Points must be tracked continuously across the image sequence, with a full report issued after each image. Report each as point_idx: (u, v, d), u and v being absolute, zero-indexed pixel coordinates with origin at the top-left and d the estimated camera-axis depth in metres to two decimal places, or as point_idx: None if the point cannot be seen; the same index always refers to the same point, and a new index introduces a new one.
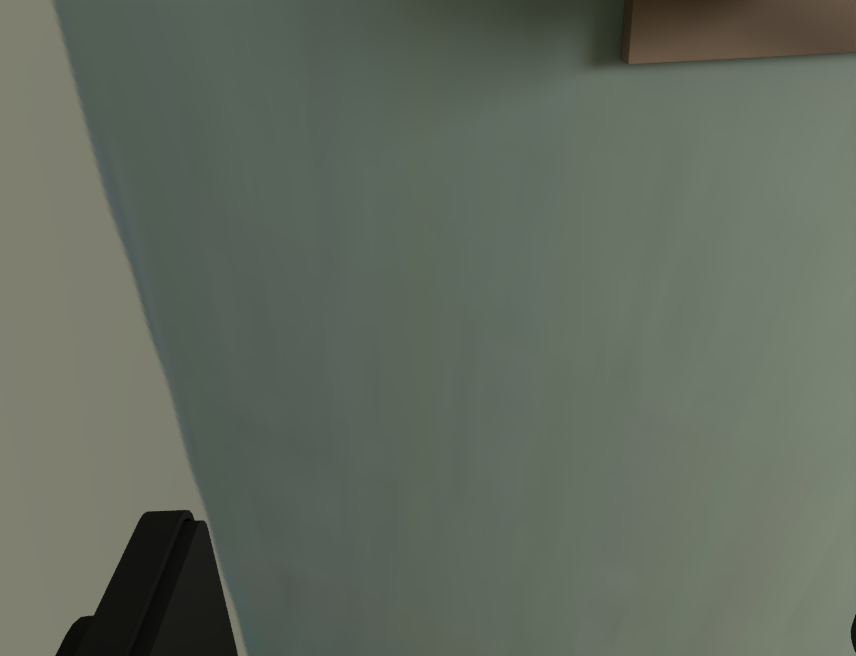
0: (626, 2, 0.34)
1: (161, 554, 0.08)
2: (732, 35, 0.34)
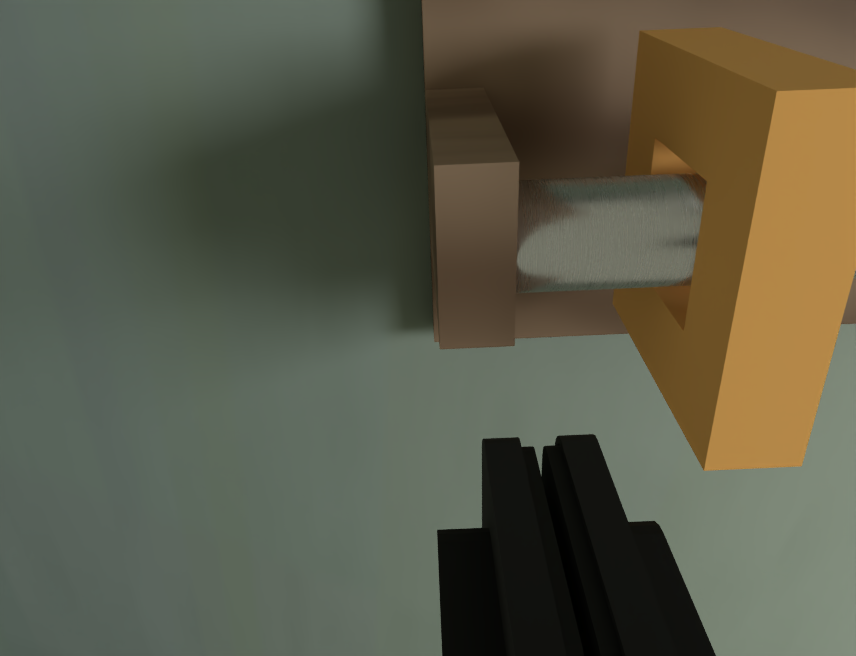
0: (431, 271, 0.29)
1: (521, 471, 0.10)
2: (553, 314, 0.29)
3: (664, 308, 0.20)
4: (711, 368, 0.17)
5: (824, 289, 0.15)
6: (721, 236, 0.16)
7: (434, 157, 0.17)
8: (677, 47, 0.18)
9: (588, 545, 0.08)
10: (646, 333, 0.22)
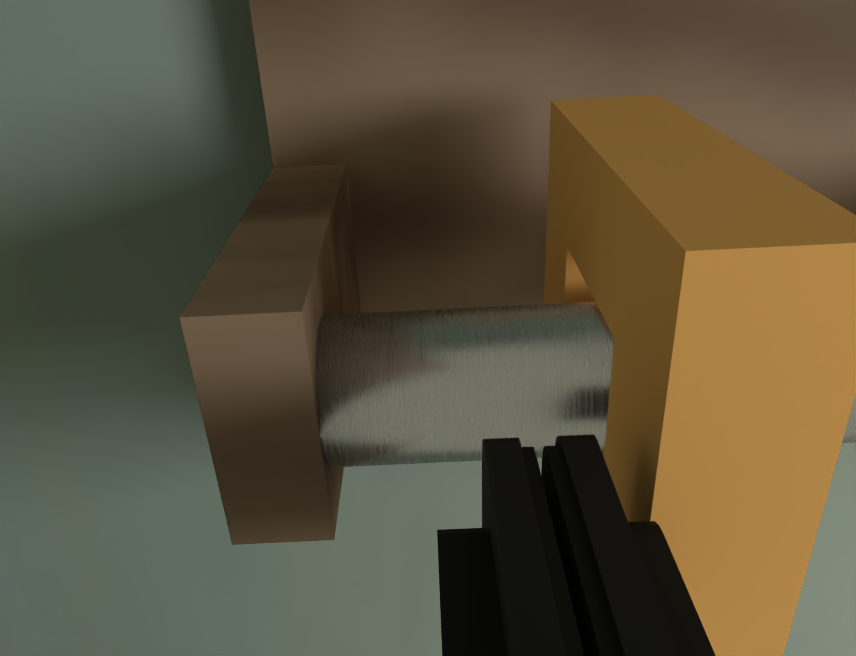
0: None
1: (521, 471, 0.10)
2: None
3: None
4: None
5: (781, 521, 0.10)
6: (630, 428, 0.11)
7: (192, 299, 0.12)
8: (582, 135, 0.13)
9: (588, 545, 0.08)
10: None
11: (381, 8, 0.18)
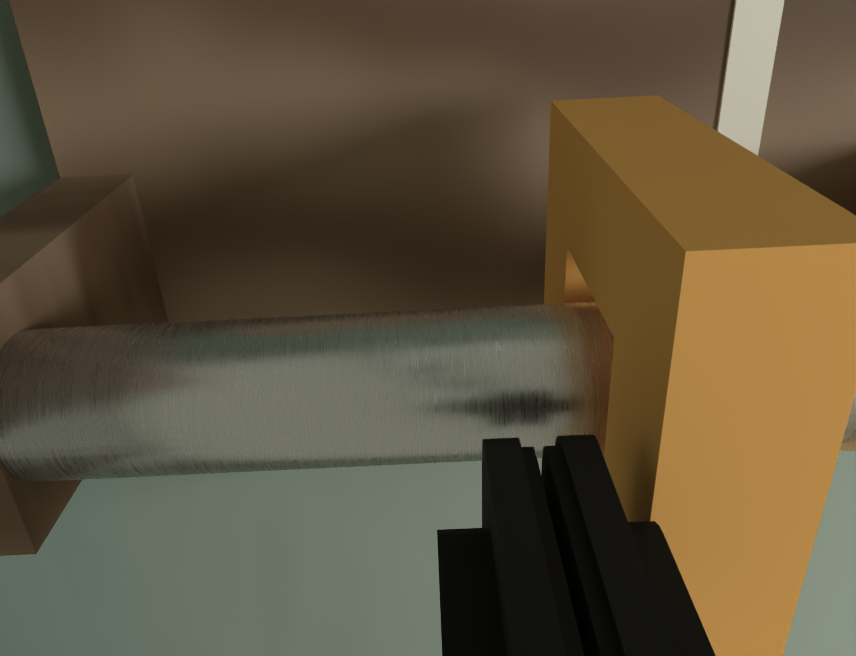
0: None
1: (521, 471, 0.10)
2: None
3: None
4: None
5: (780, 521, 0.10)
6: (630, 428, 0.11)
7: None
8: (582, 136, 0.13)
9: (588, 545, 0.08)
10: None
11: (146, 20, 0.18)
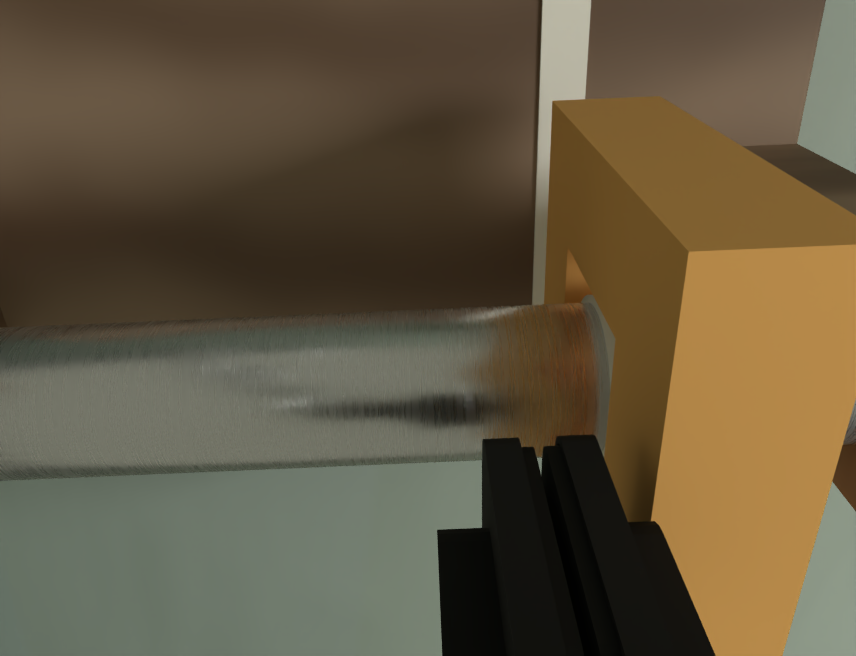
0: None
1: (520, 471, 0.10)
2: None
3: None
4: None
5: (781, 522, 0.10)
6: (631, 428, 0.11)
7: None
8: (584, 136, 0.13)
9: (588, 545, 0.08)
10: None
11: None
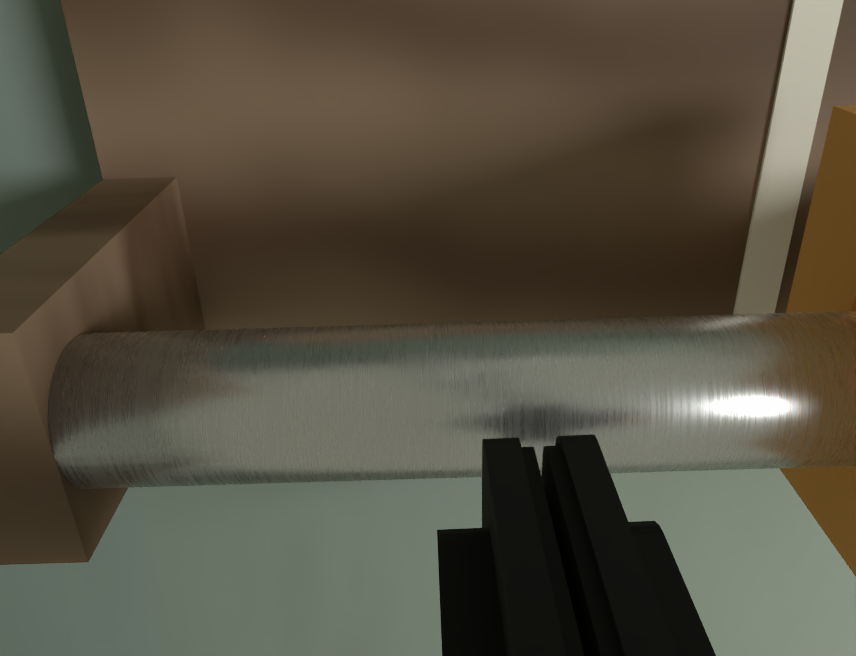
0: None
1: (520, 471, 0.10)
2: None
3: None
4: None
5: None
6: None
7: None
8: None
9: (588, 545, 0.08)
10: (835, 503, 0.16)
11: (198, 22, 0.18)
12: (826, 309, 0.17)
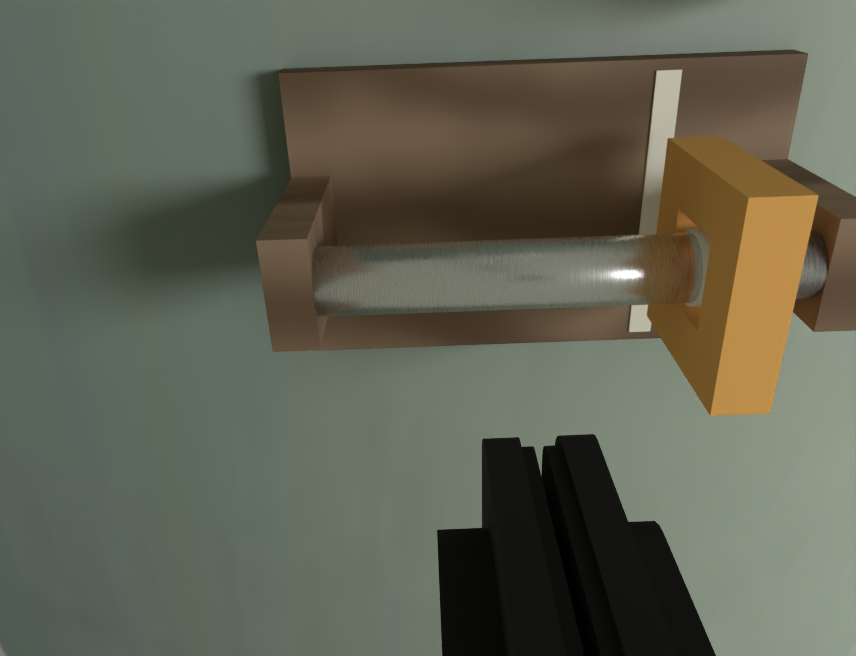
0: None
1: (520, 471, 0.10)
2: (396, 331, 0.41)
3: (684, 317, 0.31)
4: (714, 352, 0.28)
5: (779, 304, 0.27)
6: (720, 273, 0.27)
7: (260, 234, 0.29)
8: (693, 156, 0.30)
9: (588, 545, 0.08)
10: (672, 334, 0.33)
11: (349, 96, 0.35)
12: None
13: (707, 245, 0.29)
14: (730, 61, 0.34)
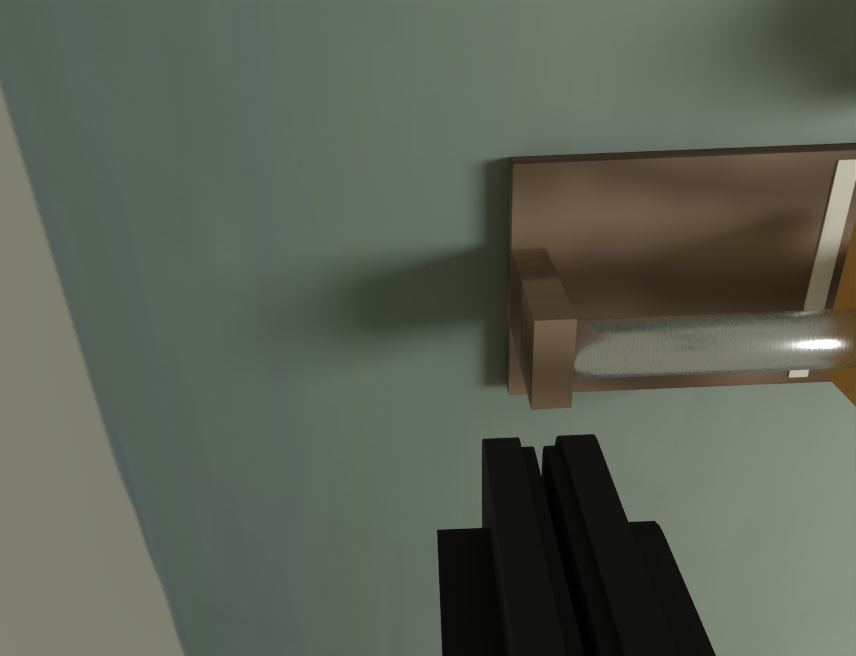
0: (507, 350, 0.46)
1: (520, 471, 0.10)
2: None
3: None
4: None
5: None
6: None
7: (533, 314, 0.34)
8: None
9: (588, 545, 0.08)
10: None
11: (571, 182, 0.40)
12: (852, 306, 0.39)
13: None
14: None
